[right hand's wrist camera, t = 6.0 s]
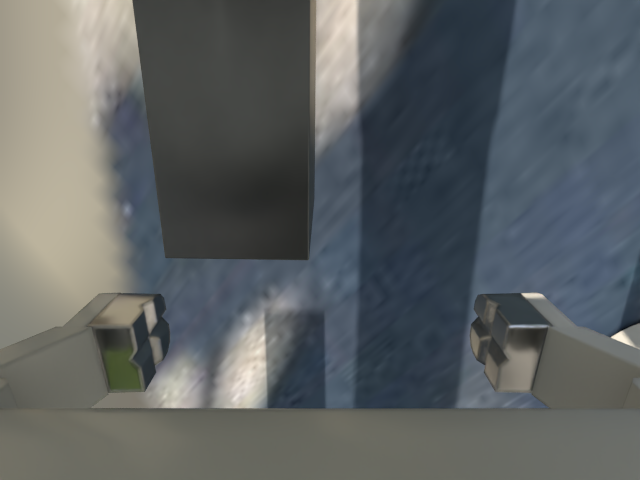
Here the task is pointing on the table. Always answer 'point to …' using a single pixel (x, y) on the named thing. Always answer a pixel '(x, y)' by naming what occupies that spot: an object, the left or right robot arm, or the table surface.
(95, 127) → the table surface
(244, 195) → the box
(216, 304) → the table surface
